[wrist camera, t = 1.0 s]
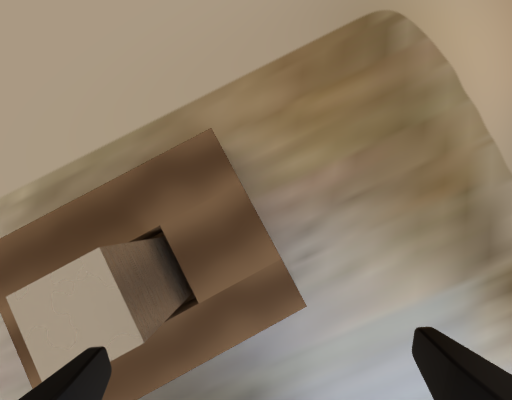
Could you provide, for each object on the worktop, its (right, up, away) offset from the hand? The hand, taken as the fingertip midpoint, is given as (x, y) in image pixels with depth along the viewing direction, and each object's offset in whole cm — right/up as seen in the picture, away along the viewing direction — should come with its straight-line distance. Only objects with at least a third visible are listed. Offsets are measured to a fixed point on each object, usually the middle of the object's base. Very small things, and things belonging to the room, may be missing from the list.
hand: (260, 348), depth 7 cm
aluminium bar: (-9, -2, +14) cm, 17 cm away
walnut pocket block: (-8, -2, +16) cm, 19 cm away
